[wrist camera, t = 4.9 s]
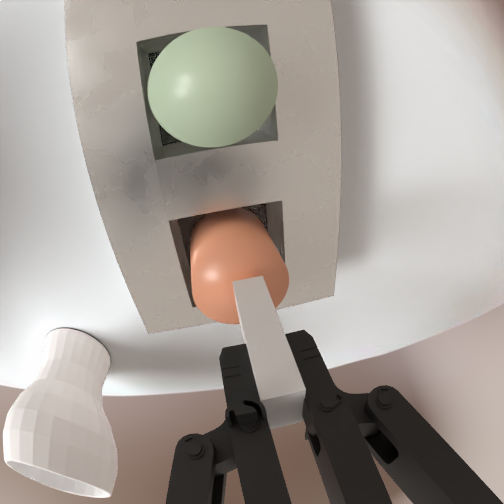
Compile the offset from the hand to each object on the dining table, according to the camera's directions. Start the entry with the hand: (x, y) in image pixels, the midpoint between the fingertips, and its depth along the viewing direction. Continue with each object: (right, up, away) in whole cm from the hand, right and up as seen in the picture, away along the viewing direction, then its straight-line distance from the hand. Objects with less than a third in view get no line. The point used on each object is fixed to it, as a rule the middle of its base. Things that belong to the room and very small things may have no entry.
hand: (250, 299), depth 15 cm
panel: (-3, +13, +2) cm, 13 cm away
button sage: (-2, +11, 0) cm, 12 cm away
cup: (-19, -8, +11) cm, 23 cm away
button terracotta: (-1, +3, +5) cm, 6 cm away
